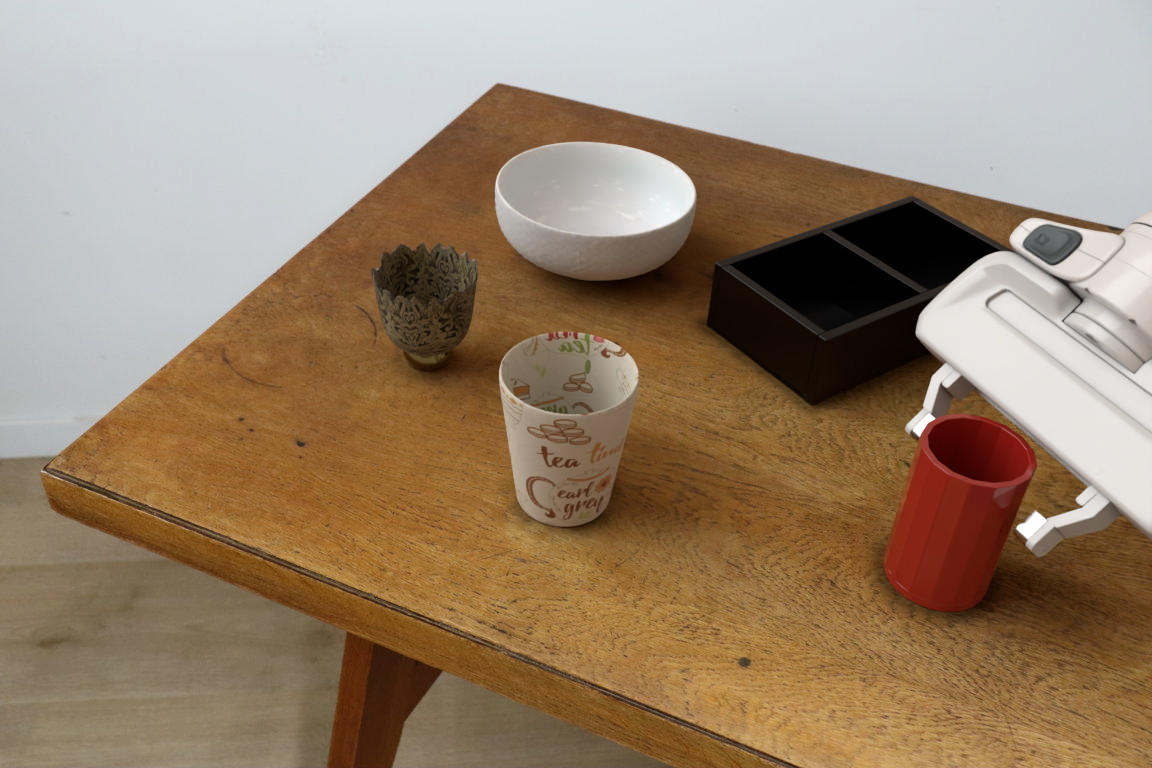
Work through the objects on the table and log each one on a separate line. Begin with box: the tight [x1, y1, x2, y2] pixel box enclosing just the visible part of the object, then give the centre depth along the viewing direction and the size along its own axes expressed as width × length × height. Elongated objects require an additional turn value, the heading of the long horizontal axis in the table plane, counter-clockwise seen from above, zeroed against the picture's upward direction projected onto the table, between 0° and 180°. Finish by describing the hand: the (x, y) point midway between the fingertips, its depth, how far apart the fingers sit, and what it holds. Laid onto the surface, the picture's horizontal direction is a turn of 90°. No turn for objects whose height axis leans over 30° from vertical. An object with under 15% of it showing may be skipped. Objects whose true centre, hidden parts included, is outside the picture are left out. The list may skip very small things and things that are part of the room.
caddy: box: [706, 195, 1015, 406], centre depth 87 cm, size 22×12×6 cm, turn 124°
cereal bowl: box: [494, 141, 698, 282], centre depth 93 cm, size 17×17×7 cm
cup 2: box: [882, 413, 1038, 613], centre depth 65 cm, size 6×6×10 cm
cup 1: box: [370, 242, 479, 371], centre depth 80 cm, size 8×7×8 cm
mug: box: [498, 331, 641, 528], centre depth 70 cm, size 8×13×10 cm, turn 166°
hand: (967, 490), depth 64 cm, fingers open, 8 cm apart
